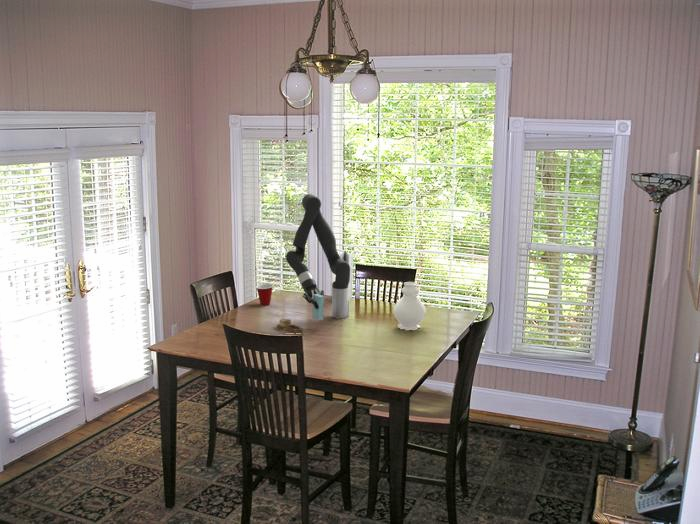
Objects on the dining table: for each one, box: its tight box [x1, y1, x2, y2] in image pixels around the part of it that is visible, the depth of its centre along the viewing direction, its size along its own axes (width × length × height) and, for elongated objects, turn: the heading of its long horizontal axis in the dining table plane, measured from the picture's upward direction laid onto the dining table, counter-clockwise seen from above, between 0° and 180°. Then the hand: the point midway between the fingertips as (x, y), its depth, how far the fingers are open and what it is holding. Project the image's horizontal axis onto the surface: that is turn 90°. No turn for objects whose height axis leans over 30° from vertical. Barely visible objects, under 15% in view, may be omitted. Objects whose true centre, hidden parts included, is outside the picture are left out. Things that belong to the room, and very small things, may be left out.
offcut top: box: [279, 317, 292, 325], centre depth 388 cm, size 5×4×2 cm
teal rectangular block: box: [311, 294, 325, 321], centre depth 387 cm, size 3×6×13 cm, turn 40°
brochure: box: [339, 249, 354, 301], centre depth 455 cm, size 14×6×30 cm, turn 168°
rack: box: [272, 323, 315, 336], centre depth 384 cm, size 14×21×3 cm, turn 40°
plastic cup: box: [255, 283, 274, 307], centre depth 437 cm, size 11×11×12 cm
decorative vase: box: [393, 281, 427, 331], centre depth 395 cm, size 18×18×25 cm
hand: (320, 307), depth 386 cm, fingers closed on teal rectangular block, 3 cm apart
